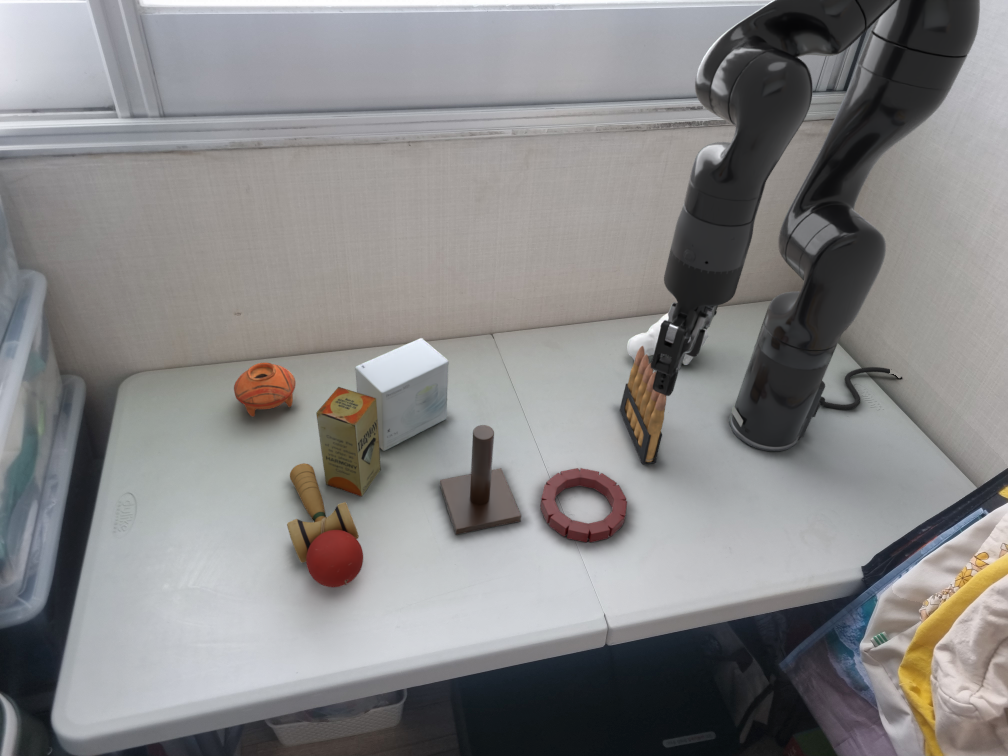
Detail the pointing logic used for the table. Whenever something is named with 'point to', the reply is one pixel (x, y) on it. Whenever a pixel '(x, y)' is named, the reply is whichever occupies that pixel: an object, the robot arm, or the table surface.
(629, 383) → the ammunition clip
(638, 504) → the table surface
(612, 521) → the ring
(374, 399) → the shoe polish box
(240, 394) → the pot
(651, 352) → the white lumpy piece
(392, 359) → the cosmetics box
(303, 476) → the kendama
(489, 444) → the brown peg stand
